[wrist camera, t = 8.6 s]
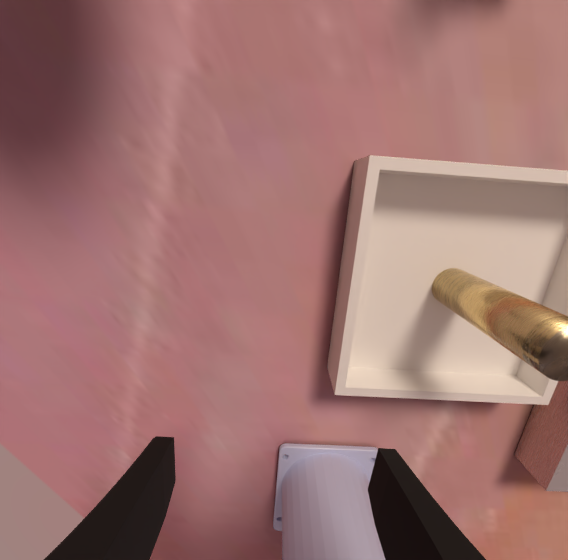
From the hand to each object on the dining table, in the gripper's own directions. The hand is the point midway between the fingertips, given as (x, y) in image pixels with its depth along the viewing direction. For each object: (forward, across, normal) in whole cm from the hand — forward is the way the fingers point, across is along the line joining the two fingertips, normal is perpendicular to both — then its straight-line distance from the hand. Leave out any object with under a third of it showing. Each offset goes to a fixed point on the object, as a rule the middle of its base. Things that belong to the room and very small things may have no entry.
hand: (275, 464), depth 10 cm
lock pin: (+10, -11, -4) cm, 15 cm away
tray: (+10, -11, -4) cm, 16 cm away
